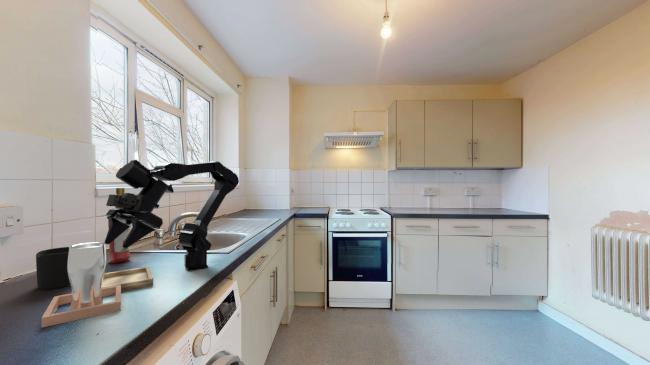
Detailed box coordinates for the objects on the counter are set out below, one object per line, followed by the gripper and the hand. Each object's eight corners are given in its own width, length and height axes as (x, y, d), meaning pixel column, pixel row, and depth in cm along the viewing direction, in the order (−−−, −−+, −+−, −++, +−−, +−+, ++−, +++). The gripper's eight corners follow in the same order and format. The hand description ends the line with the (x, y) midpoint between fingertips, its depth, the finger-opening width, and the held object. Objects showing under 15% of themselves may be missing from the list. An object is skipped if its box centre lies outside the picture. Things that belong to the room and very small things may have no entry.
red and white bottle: (123, 258, 106) (124, 187, 106) (135, 260, 103) (136, 188, 103) (102, 263, 99) (103, 188, 99) (115, 265, 96) (116, 188, 96)
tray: (149, 272, 89) (149, 266, 89) (153, 285, 78) (153, 278, 78) (94, 281, 81) (94, 274, 81) (89, 297, 70) (89, 289, 70)
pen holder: (87, 277, 84) (87, 245, 84) (69, 288, 75) (70, 253, 75) (49, 280, 81) (49, 247, 81) (26, 292, 72) (26, 255, 72)
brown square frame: (120, 291, 73) (120, 284, 73) (120, 310, 63) (120, 301, 63) (54, 304, 65) (54, 296, 65) (41, 327, 55) (41, 318, 55)
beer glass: (82, 316, 60) (83, 249, 60) (58, 312, 61) (59, 247, 61) (112, 302, 67) (113, 242, 67) (90, 299, 68) (91, 241, 68)
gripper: (107, 182, 79) (67, 229, 71) (144, 182, 70) (103, 236, 63) (140, 201, 87) (107, 246, 79) (176, 203, 79) (144, 254, 71)
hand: (114, 245), depth 73 cm, fingers open, 9 cm apart
